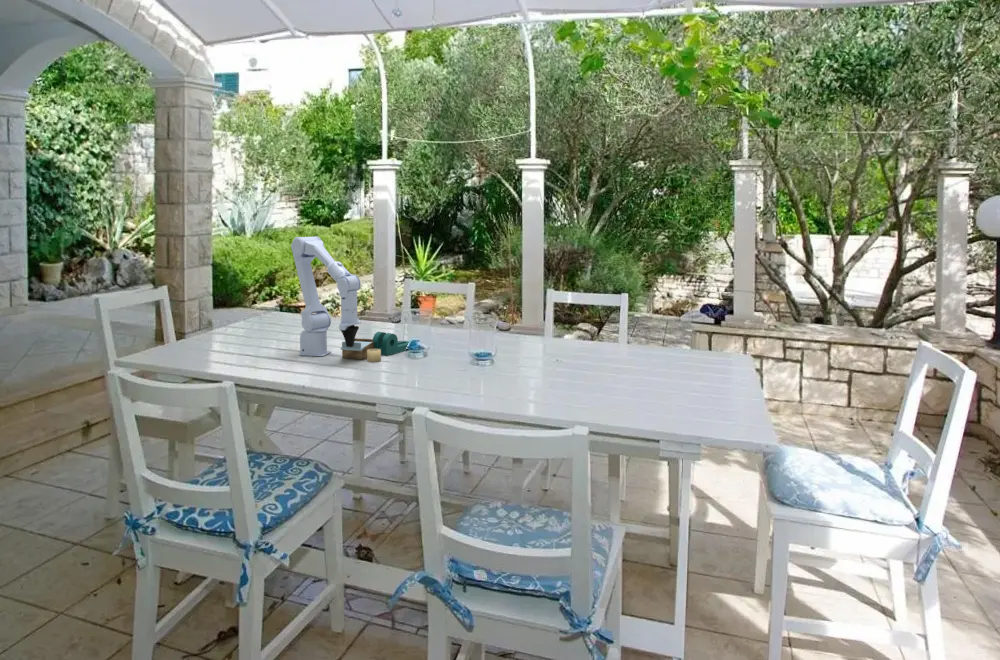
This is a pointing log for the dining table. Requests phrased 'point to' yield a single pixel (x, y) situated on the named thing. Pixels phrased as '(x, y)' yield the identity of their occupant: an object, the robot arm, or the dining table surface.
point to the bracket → (388, 343)
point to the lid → (355, 346)
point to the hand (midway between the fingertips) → (349, 346)
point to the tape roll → (373, 355)
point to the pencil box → (358, 354)
